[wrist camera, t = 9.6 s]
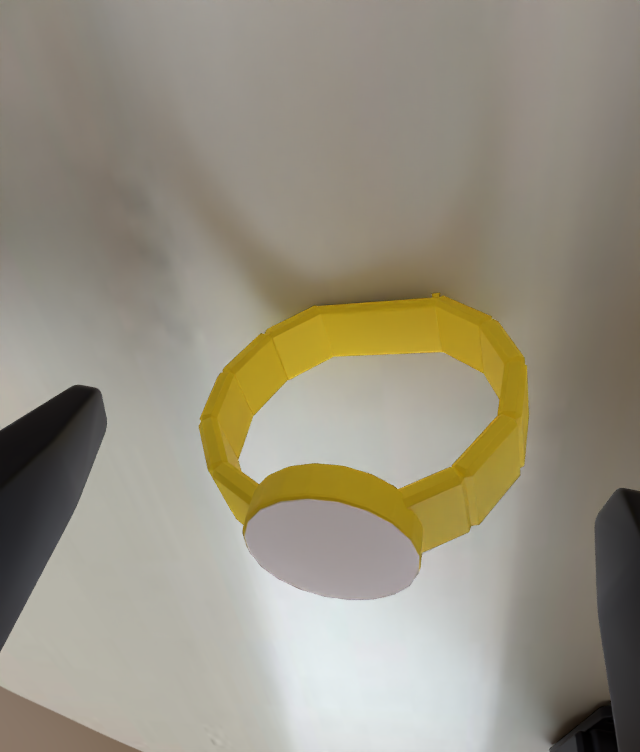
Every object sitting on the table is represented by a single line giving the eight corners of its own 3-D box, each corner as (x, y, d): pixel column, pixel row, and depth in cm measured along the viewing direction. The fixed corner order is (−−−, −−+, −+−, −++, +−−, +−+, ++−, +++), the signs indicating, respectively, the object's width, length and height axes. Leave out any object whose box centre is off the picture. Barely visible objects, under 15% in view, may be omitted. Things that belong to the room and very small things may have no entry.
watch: (512, 248, 11) (552, 494, 7) (517, 356, 13) (553, 608, 9) (232, 287, 13) (126, 505, 9) (270, 378, 15) (196, 599, 11)
